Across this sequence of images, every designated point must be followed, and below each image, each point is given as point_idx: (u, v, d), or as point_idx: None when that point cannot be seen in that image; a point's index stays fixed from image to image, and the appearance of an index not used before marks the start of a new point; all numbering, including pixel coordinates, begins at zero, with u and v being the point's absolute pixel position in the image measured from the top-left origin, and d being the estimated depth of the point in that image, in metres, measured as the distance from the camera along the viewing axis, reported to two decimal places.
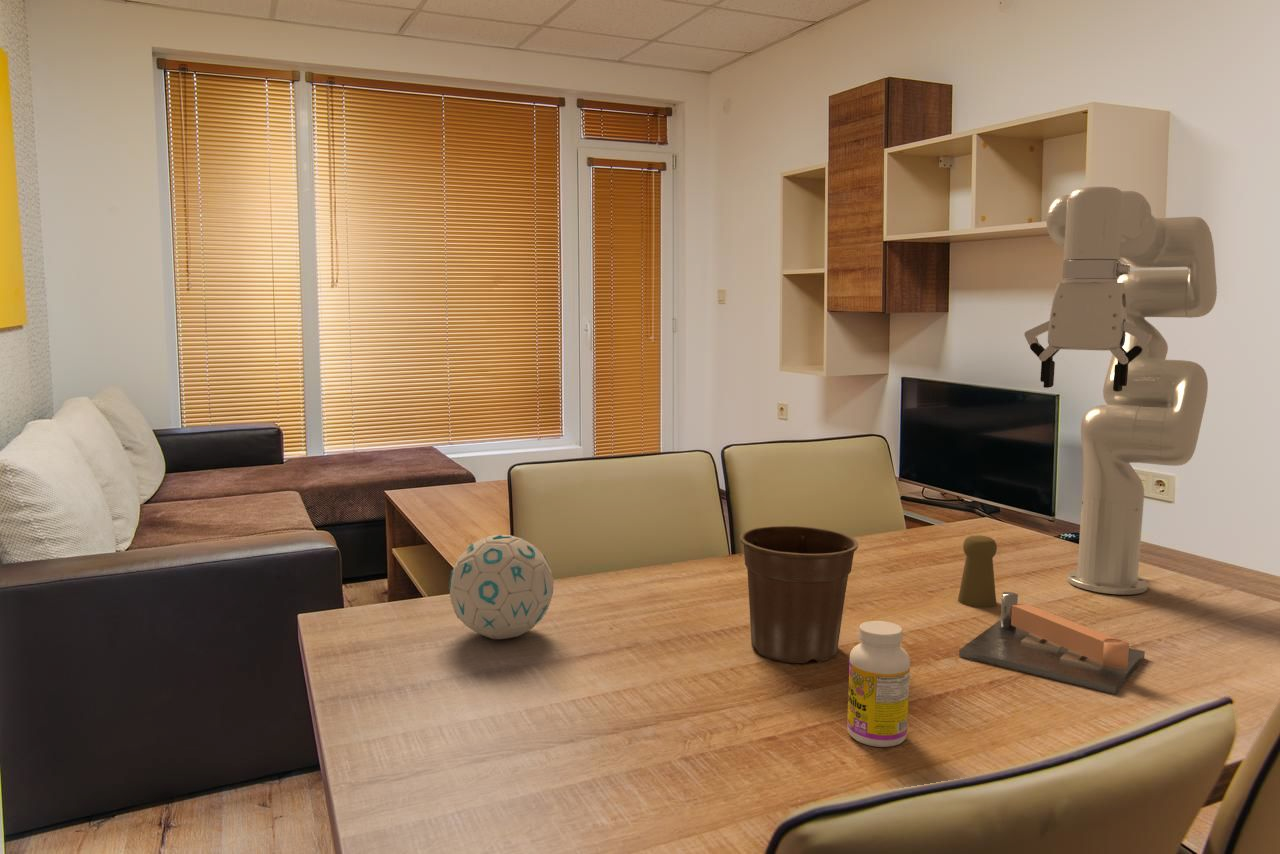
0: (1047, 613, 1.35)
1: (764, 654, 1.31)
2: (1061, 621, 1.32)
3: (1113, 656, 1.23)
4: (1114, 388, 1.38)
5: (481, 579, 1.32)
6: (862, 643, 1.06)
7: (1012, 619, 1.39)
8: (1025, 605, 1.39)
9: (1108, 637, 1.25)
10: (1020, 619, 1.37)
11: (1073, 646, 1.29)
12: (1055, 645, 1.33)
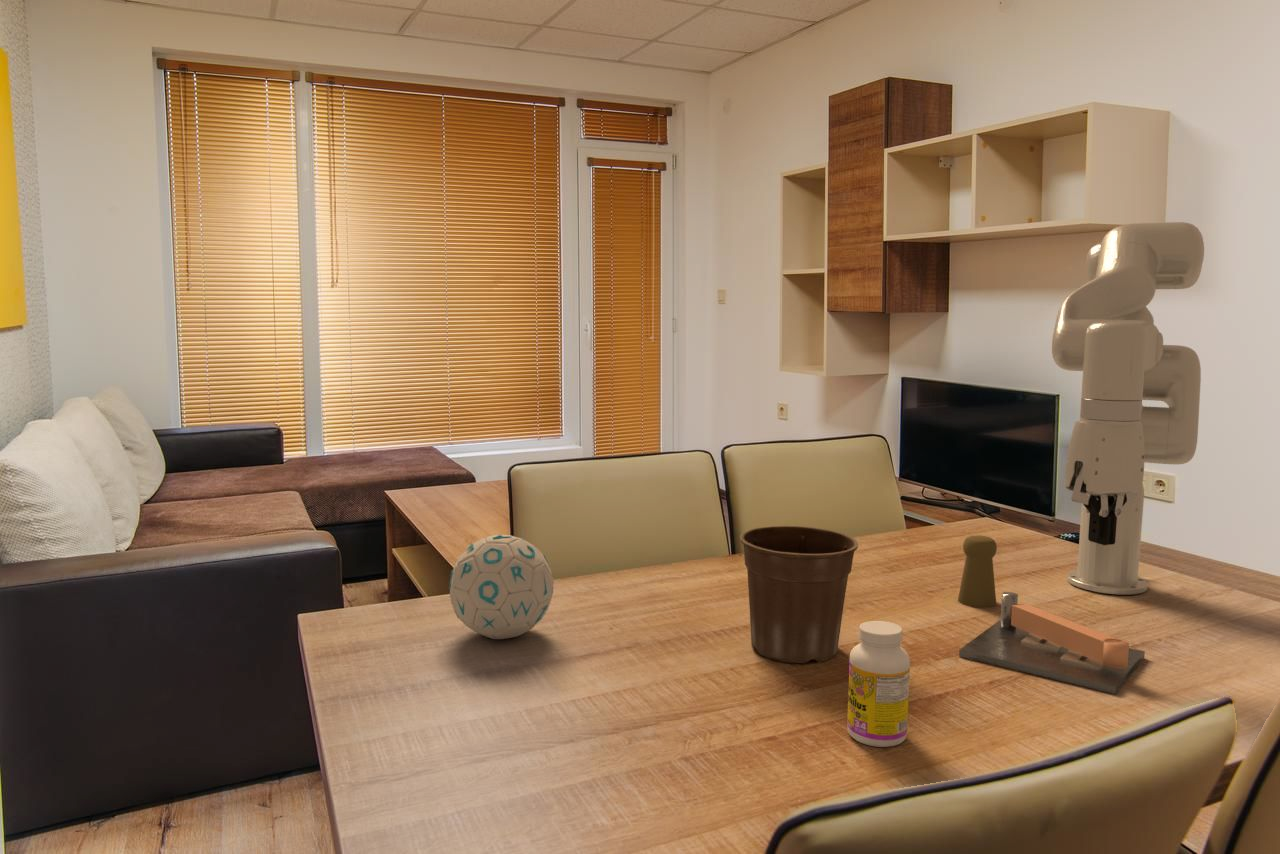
0: (1047, 613, 1.35)
1: (764, 654, 1.31)
2: (1061, 621, 1.32)
3: (1113, 656, 1.23)
4: (1112, 542, 1.31)
5: (481, 579, 1.32)
6: (862, 643, 1.06)
7: (1012, 619, 1.39)
8: (1025, 605, 1.39)
9: (1108, 637, 1.25)
10: (1020, 619, 1.37)
11: (1073, 646, 1.29)
12: (1055, 645, 1.33)
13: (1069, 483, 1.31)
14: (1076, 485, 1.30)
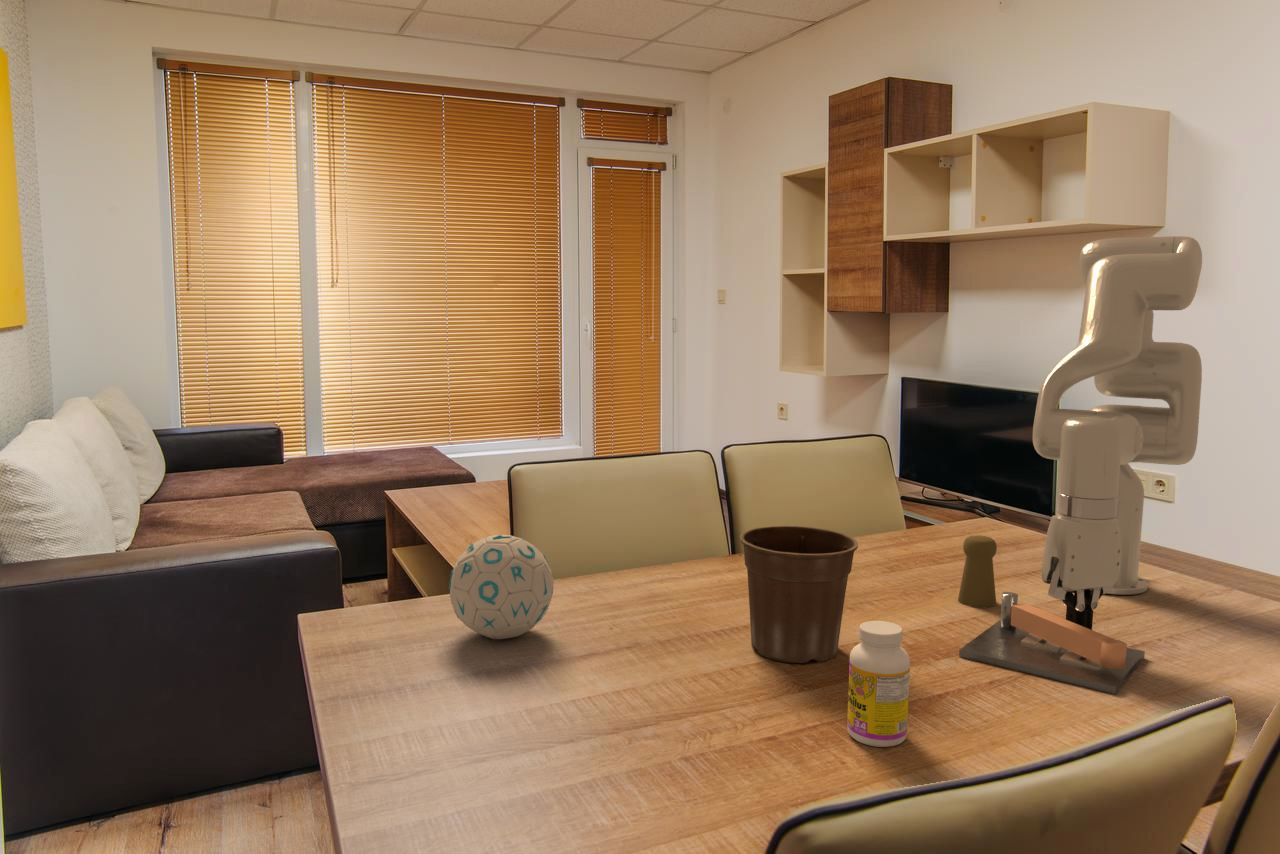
0: (1046, 613, 1.35)
1: (764, 654, 1.31)
2: (1060, 622, 1.31)
3: (1111, 656, 1.22)
4: None
5: (481, 579, 1.32)
6: (862, 643, 1.06)
7: (1012, 619, 1.39)
8: (1025, 605, 1.39)
9: (1106, 637, 1.25)
10: (1019, 619, 1.37)
11: (1072, 647, 1.28)
12: (1055, 645, 1.33)
13: (1046, 577, 1.32)
14: (1053, 580, 1.31)
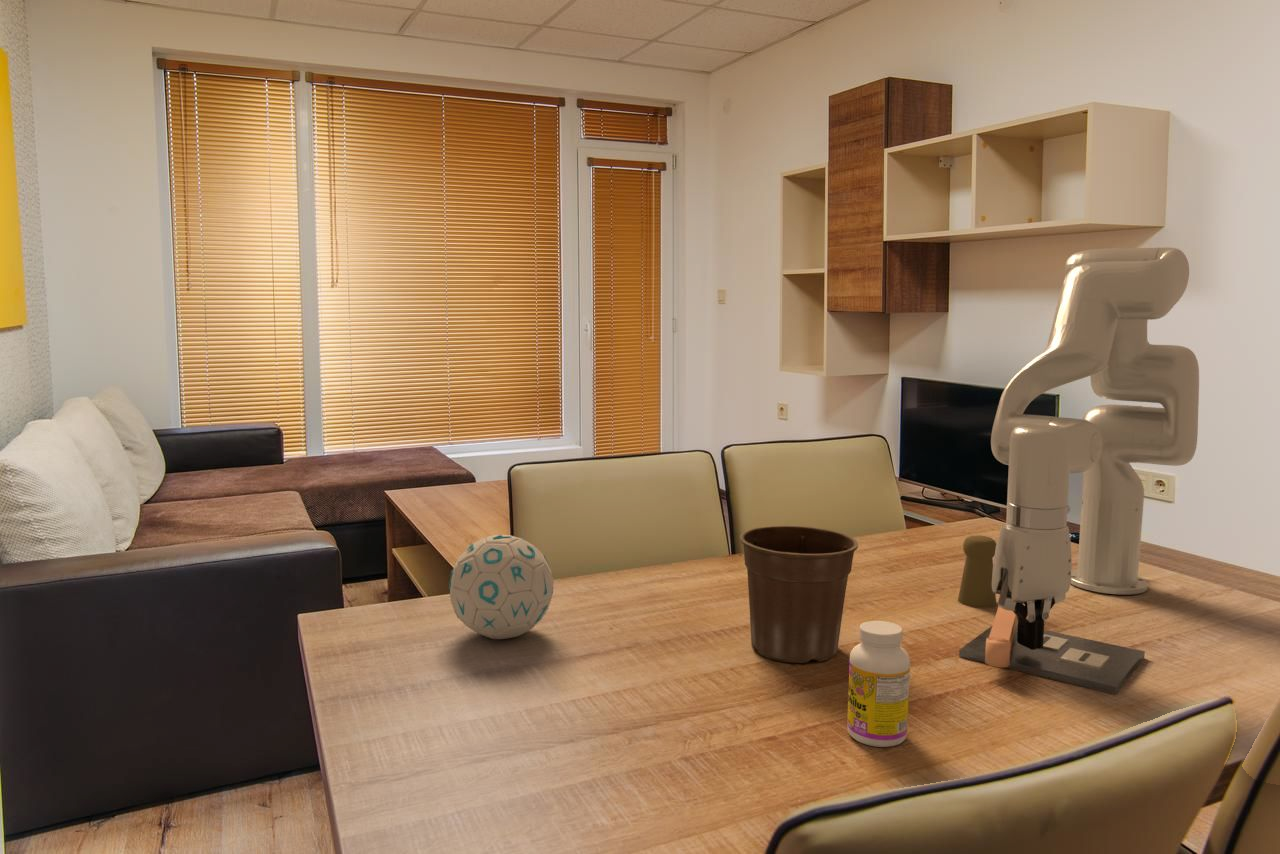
0: (1011, 614, 1.35)
1: (764, 654, 1.31)
2: (1001, 620, 1.32)
3: (987, 651, 1.24)
4: (1039, 646, 1.29)
5: (481, 579, 1.32)
6: (862, 643, 1.06)
7: None
8: None
9: (1004, 637, 1.25)
10: None
11: None
12: (1055, 645, 1.33)
13: (996, 588, 1.29)
14: (1002, 591, 1.28)
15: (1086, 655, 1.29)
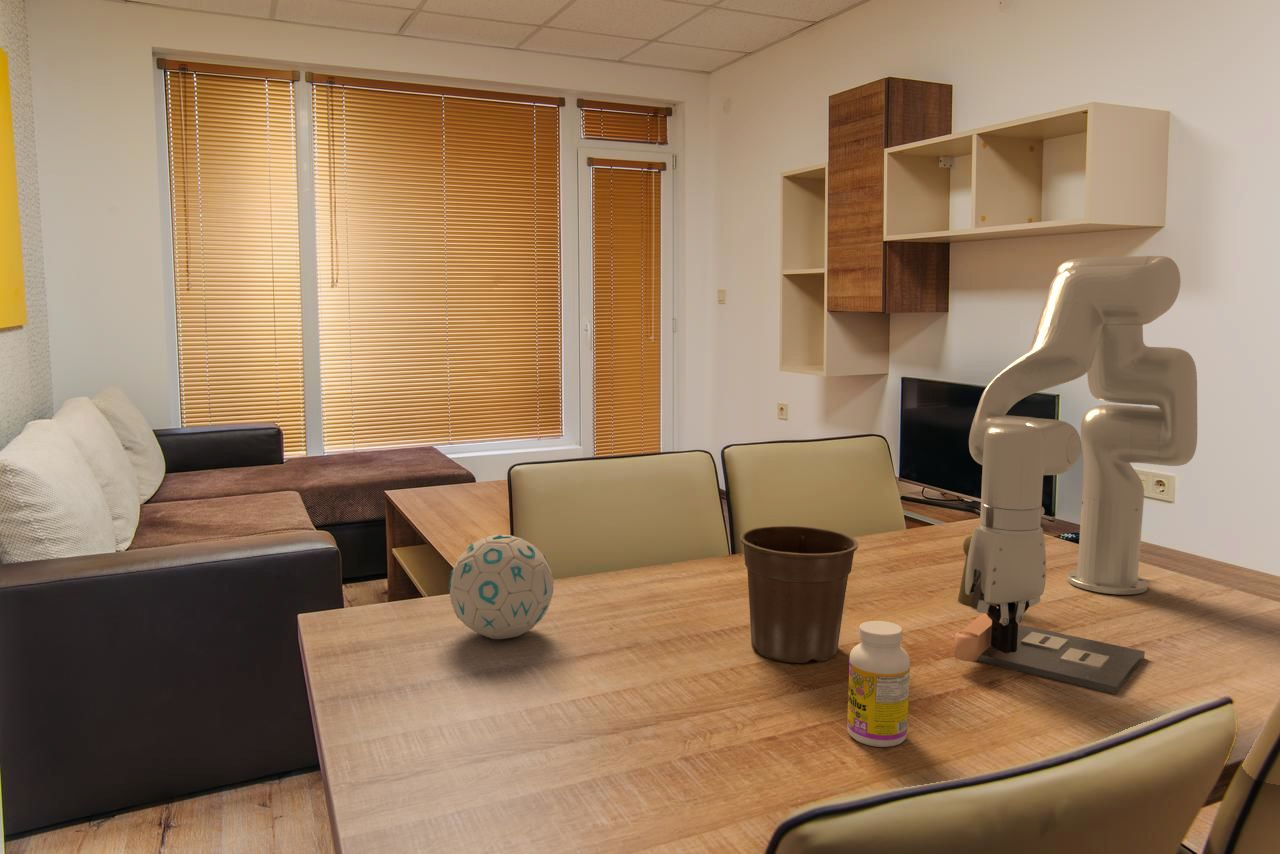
0: None
1: (764, 654, 1.31)
2: (986, 617, 1.33)
3: (955, 645, 1.26)
4: (1013, 650, 1.27)
5: (481, 579, 1.32)
6: (862, 643, 1.06)
7: None
8: None
9: (976, 632, 1.27)
10: None
11: None
12: (1055, 645, 1.33)
13: (969, 590, 1.27)
14: (975, 593, 1.26)
15: (1086, 655, 1.29)
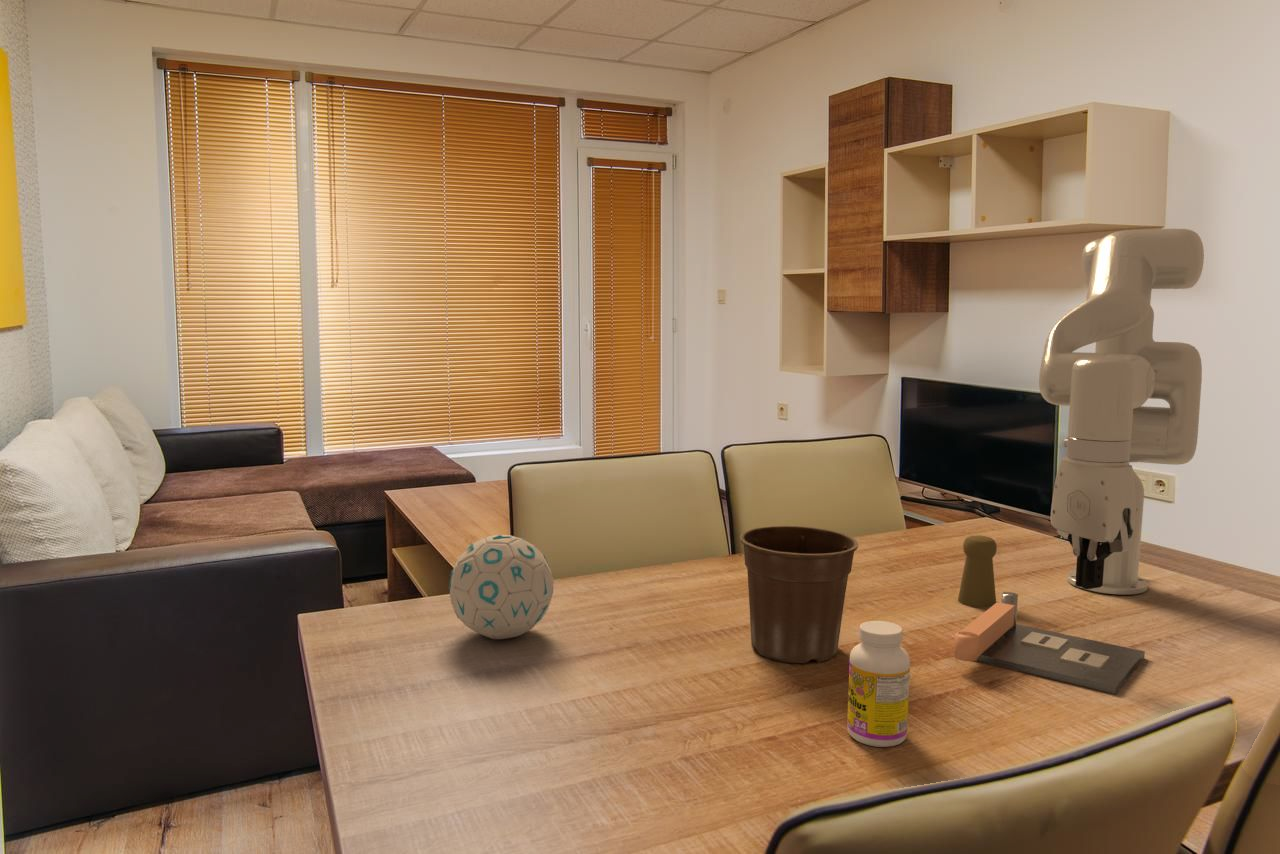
0: (1000, 613, 1.35)
1: (764, 654, 1.31)
2: (986, 617, 1.33)
3: (955, 645, 1.26)
4: None
5: (481, 579, 1.32)
6: (862, 643, 1.06)
7: None
8: (1007, 605, 1.38)
9: (976, 632, 1.27)
10: None
11: None
12: (1055, 645, 1.33)
13: (1116, 534, 1.21)
14: (1122, 534, 1.22)
15: (1086, 655, 1.29)
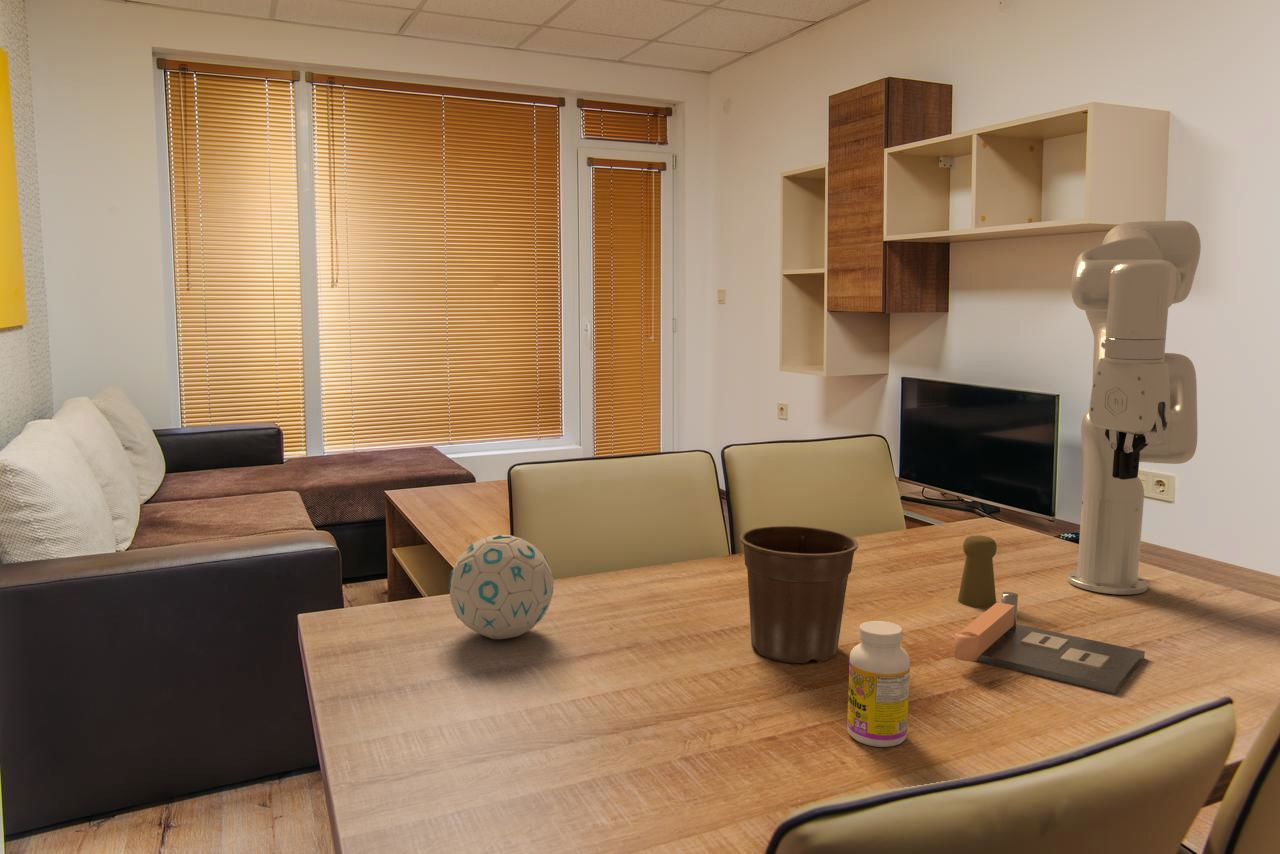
0: (1000, 613, 1.35)
1: (764, 654, 1.31)
2: (986, 617, 1.33)
3: (955, 645, 1.26)
4: None
5: (481, 579, 1.32)
6: (862, 643, 1.06)
7: None
8: (1007, 605, 1.38)
9: (976, 632, 1.27)
10: None
11: None
12: (1055, 645, 1.33)
13: (1152, 426, 1.30)
14: (1157, 426, 1.31)
15: (1086, 655, 1.29)
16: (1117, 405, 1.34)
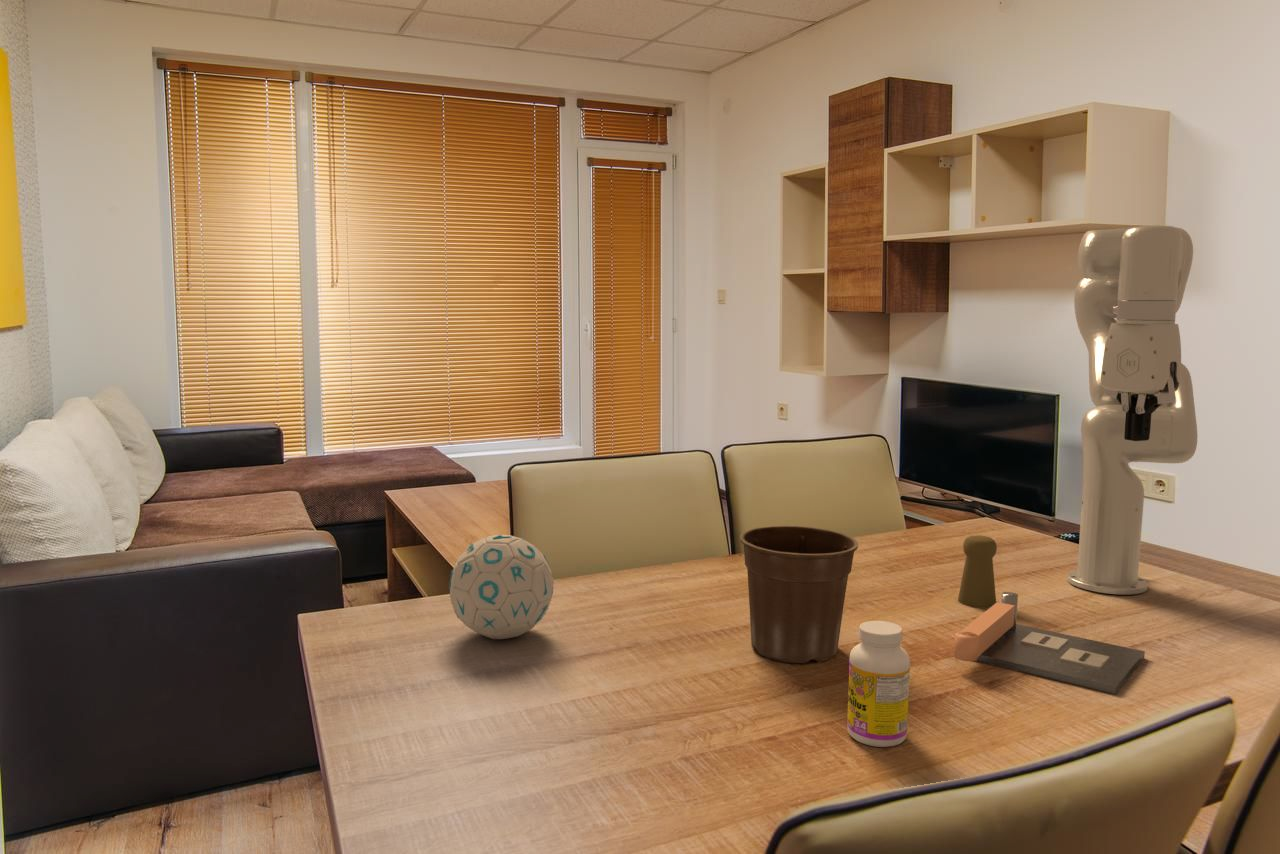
0: (1000, 613, 1.35)
1: (764, 654, 1.31)
2: (986, 617, 1.33)
3: (955, 645, 1.26)
4: None
5: (481, 579, 1.32)
6: (862, 643, 1.06)
7: None
8: (1007, 605, 1.38)
9: (976, 632, 1.27)
10: None
11: None
12: (1055, 645, 1.33)
13: (1164, 385, 1.32)
14: (1169, 386, 1.33)
15: (1086, 655, 1.29)
16: (1129, 366, 1.36)
